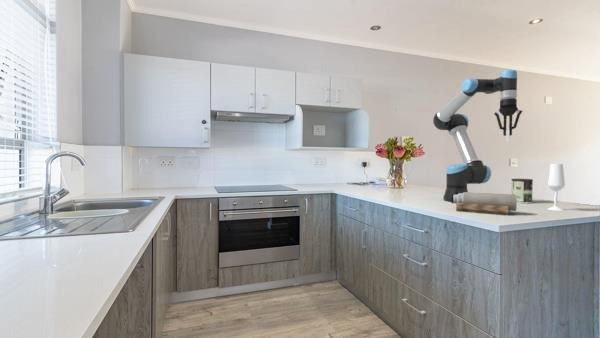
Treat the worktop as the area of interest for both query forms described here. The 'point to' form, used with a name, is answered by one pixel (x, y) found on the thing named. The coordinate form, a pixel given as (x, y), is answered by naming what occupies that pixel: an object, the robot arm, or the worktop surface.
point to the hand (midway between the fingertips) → (507, 141)
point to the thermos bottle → (486, 199)
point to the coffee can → (522, 190)
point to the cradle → (482, 208)
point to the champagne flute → (556, 182)
